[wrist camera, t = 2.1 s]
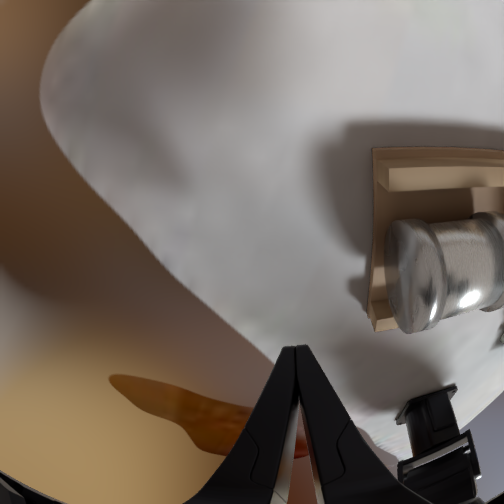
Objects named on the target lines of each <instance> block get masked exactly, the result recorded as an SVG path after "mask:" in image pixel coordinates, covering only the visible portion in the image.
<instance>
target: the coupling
mask: <svg viewBox="0 0 504 504" xmlns="http://www.w3.org/2000/svg"><path fill="white" fill-rule="evenodd" d="M384 274H385V283H386V290H387V295H388V300H389V304H390V308H391V311H392V314H393V317H394V319H395V321H396V323H397V325H398V326H399V328H400V329H401V330H402V331H403V332H404V333H407V334H411V333H416V332H420V331H424V330H428V329H431V328H433V327H434V326H436V325H437V323H438V322H439V320H441V319H445V318H449V317H453V316H457V315H460V314H464V313H467V312H471V311H474V310H478V309H480V310H482V311H485V312H491V311H494V310H497V309H500V308H503V307H504V214H502V213H500V212H497V211H486V212H477V213H474V214H472V215H471V216H470V217H469V218H468V219H467V220H458V221H449V222H440V223H431V224H427V223H426V222H425V221H424V220H422V219H419V218H415V219H405V220H396V221H394V222H392V223H391V225H390V226H389V228H388V231H387V234H386V238H385V245H384Z"/></svg>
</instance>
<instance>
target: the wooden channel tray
mask: <svg viewBox="0 0 504 504" xmlns="http://www.w3.org/2000/svg"><path fill="white" fill-rule="evenodd" d="M372 157H373V193H374V207H373V243H372V260H371V274H370V285H369V295H368V304H367V316H368V319H369V318H370V319H371V322H372V325H373V328H374V331H375V332H379V331H384V330H390V329H395V328H399V326H398V325H397V323H396V321H395V319H394V317H393V314H392V311H391V308H390V304H389V300H388V295H387V290H386V283H385V274H384V245H385V238H386V234H387V231H388V228H389V226H390V225H391V223H392V222H394V221H396V220H405V219H415V218H419V219H422V220H424V221H425V222H426V223H427V224H431V223H440V222H449V221H458V220H467V219H468V218H469V217H470V216H471V215H472V214H474V213H477V212H486V211H497V212H500V213H502V214H504V151H503V150H492V149H478V148H458V147H388V148H372Z"/></svg>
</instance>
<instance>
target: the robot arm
mask: <svg viewBox="0 0 504 504" xmlns="http://www.w3.org/2000/svg"><path fill="white" fill-rule="evenodd" d="M457 390H458V389H457V386H454V387H451V388H449V389H446V390H443V391H440V392H437V393H433V394H430V395H427V396H424V397H420V398H417V399H413V400H411V401H409V402H408V403H407V405H406V407H405V408H404V410H403V412H402V413H401V415H400V417H399V418H398V420H397V421H396V424H397V425H401V424H405V423H406V426H407V430H408V435H409V439H410V444H411V449H412V454H413V457H412V458H409V459H407V460H402V461H400V462H398V465H397V467H398V469H397V472H398V480H397V479H396V478H395V477H394V476H393V475H392V473H391V472H390V471H389V470H388V469H387V468H386V466H385V465H384V464H383V463H382V462H381V461H380V459H379V458H378V457H377V456H376V454H375V453H374V452H373V451H372V449H371V448H370V447H369V445H368V444H367V443H366V441H365V440H364V439H363V437H362V435H361V434H360V432H359V431H358V429H357V428H356V426H355V424H354V423H353V421H352V420H351V418H350V416H349V414H348V413H347V411H346V409H345V407H344V406H343V404H342V402H341V401H340V399H339V397H338V396H337V394H336V392H335V390H334V389H333V387H332V385H331V384H330V382H329V380H328V378H327V377H326V375H325V373H324V372H323V370H322V368H321V367H320V365H319V363H318V361H317V360H316V358H315V356H314V355H313V353H312V351H311V350H310V348H309V346H308V345H306V344H304V345H297V346H296V347H295V346H285V347H283V348H282V350H281V352H280V355H279V357H278V359H277V361H276V363H275V365H274V368H273V370H272V372H271V374H270V376H269V378H268V380H267V382H266V385H265V387H264V389H263V391H262V393H261V395H260V397H259V399H258V401H257V403H256V405H255V407H254V409H253V411H252V413H251V415H250V417H249V419H248V421H247V423H246V425H245V428H244V429H243V430H242V432H241V434H240V436H239V438H238V439H237V441H236V443H235V444H234V446H233V448H232V449H231V451H230V452H229V454H228V455H227V457H226V458H225V460H224V461H223V462H222V464H221V465H220V466H219V468H218V469H217V470H216V471H215V473H214V474H213V475H212V476H211V478H210V479H209V480H208V481H207V483H206V484H205V485H204V486H203V487H202V488H201V490H200V491H199V492H198V493H197V494H195V495H194V496H193V497H192V498H190V499H189V500H188V501H186V502H184V503H183V504H287V498H288V492H289V485H290V478H291V472H292V464H293V456H294V448H295V440H296V431H297V421H298V411H299V410H298V409H299V401H300V408H301V413H302V418H303V424H304V429H305V435H306V440H307V446H308V451H309V457H310V462H311V468H312V474H313V480H314V485H315V491H316V497H317V503H318V504H504V491H503V492H502V493H500V494H499V495H497V496H496V497H494V498H492V499H490V500H489V501H487V502H484V501H483V500H481V498H479V497H476V495H477V484H476V480H477V479H479V478H481V472H480V466H479V462H478V457H477V453H476V449H475V445H474V441H473V438H472V434H471V432H470V429H469V430H467V431H466V432H465V433H463V434H461V435H460V432H459V429H458V425H457V420H456V417H455V414H454V411H453V408H452V405H451V402H450V400H451V398H452V397H453V396H454V394H455V393H456V391H457ZM466 442H468V443H469V445H467V446H465V447H463V446H462V447H460V448H458V449H456V450H454V451H452V452H450V453H448V454H446V455H444V456H442V457H440V458H438V459H435V460H433V461H431V462H429V463H426V464H424V465H421V466H419V467H416V468H413V467H415V466H417V465H420V464H422V463H425V462H427V461H429V460H432V459H434V458H436V457H438V456H441V455H443V454H445V453H447V452H449V451H451V450H453V449H455V448H457V447H459V446H461V445H463V444H464V443H466ZM0 504H67V503H64V502H61V501H59V500H57V499H54V498H52V497H50V496H47V495H45V494H43V493H41V492H39V491H37V490H35V489H33V488H31V487H29V486H27V485H25V484H23V483H21V482H19V481H18V480H16V479H14V478H12V477H10V476H9V475H7V474H5V473H4V472H2V471H0Z"/></svg>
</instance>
